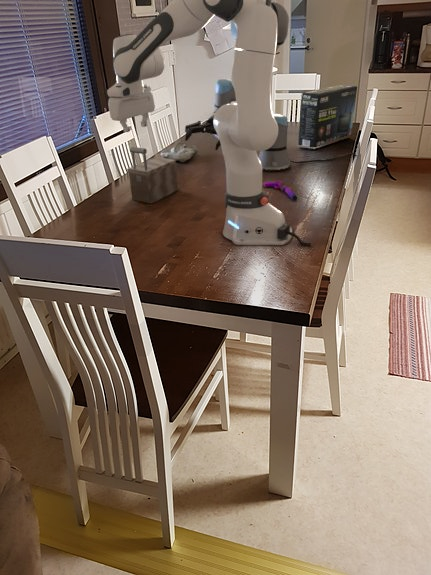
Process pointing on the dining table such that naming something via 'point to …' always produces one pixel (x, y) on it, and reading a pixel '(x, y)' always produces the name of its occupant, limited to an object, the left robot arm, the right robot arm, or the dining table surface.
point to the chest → (153, 184)
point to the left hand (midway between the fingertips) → (135, 129)
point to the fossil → (180, 152)
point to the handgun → (281, 185)
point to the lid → (148, 163)
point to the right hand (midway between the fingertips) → (201, 142)
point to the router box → (326, 115)
